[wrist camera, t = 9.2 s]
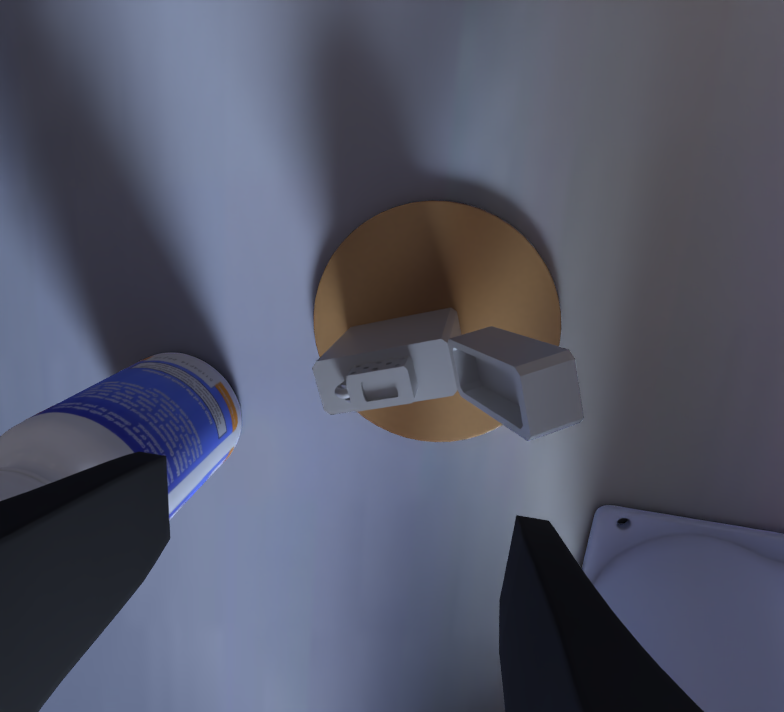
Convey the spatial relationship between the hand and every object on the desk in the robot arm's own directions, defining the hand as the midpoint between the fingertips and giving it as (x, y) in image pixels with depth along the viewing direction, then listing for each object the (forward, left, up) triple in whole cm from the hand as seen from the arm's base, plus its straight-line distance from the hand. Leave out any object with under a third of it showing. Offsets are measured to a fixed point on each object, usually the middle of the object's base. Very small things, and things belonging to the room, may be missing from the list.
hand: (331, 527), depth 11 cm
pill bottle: (+9, +3, -11) cm, 14 cm away
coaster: (-1, -2, -10) cm, 10 cm away
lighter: (-1, -2, -10) cm, 10 cm away
